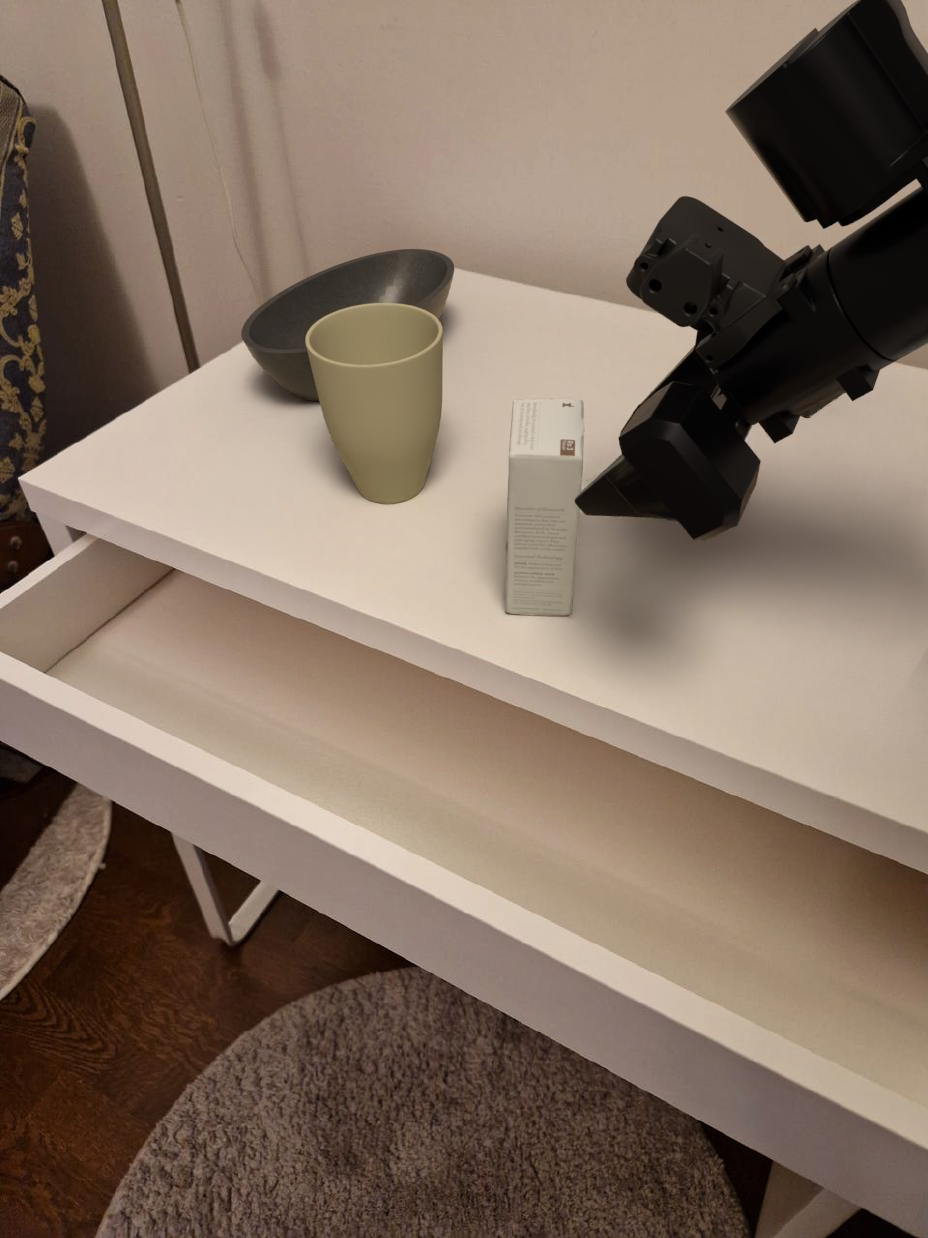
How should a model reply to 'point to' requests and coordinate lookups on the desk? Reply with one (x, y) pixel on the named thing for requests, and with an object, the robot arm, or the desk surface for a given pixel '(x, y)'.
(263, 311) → the bowl
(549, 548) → the cosmetic box
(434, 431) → the olive green cup
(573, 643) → the desk surface
